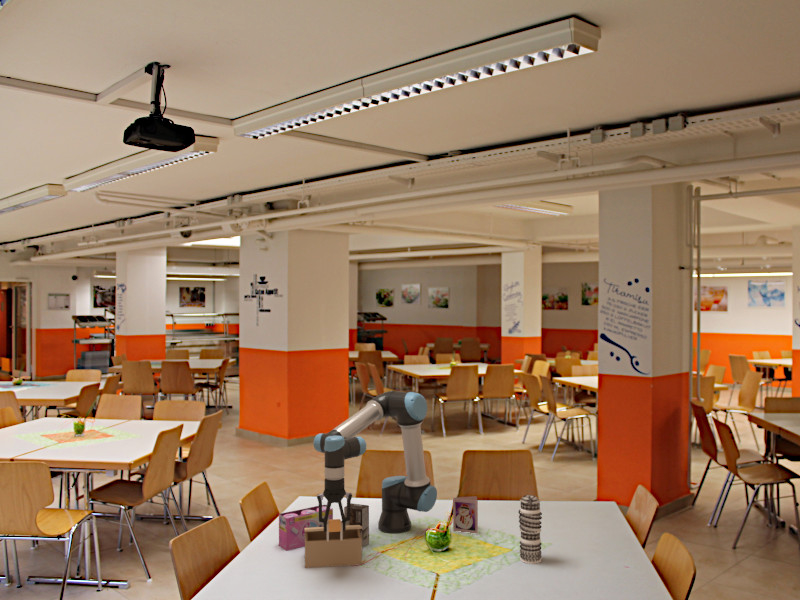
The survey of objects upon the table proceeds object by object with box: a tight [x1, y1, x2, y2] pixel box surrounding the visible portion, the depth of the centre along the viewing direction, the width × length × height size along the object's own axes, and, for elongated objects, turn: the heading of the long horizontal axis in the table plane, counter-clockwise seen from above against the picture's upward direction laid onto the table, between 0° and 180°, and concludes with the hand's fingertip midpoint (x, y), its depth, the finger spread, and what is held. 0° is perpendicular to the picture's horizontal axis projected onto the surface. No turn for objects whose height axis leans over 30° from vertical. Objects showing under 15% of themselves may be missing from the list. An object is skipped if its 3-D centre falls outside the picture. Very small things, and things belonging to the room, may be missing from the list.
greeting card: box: [452, 495, 479, 534], centre depth 289 cm, size 11×7×15 cm, turn 68°
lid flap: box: [304, 518, 362, 532], centre depth 250 cm, size 22×25×4 cm
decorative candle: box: [518, 494, 543, 565], centre depth 254 cm, size 9×9×25 cm
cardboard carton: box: [304, 529, 363, 569], centre depth 255 cm, size 22×14×10 cm, turn 99°
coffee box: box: [343, 503, 370, 548], centre depth 272 cm, size 9×6×16 cm
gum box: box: [278, 504, 334, 551], centre depth 275 cm, size 24×8×14 cm, turn 126°
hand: (334, 539), depth 241 cm, fingers closed on lid flap, 4 cm apart
